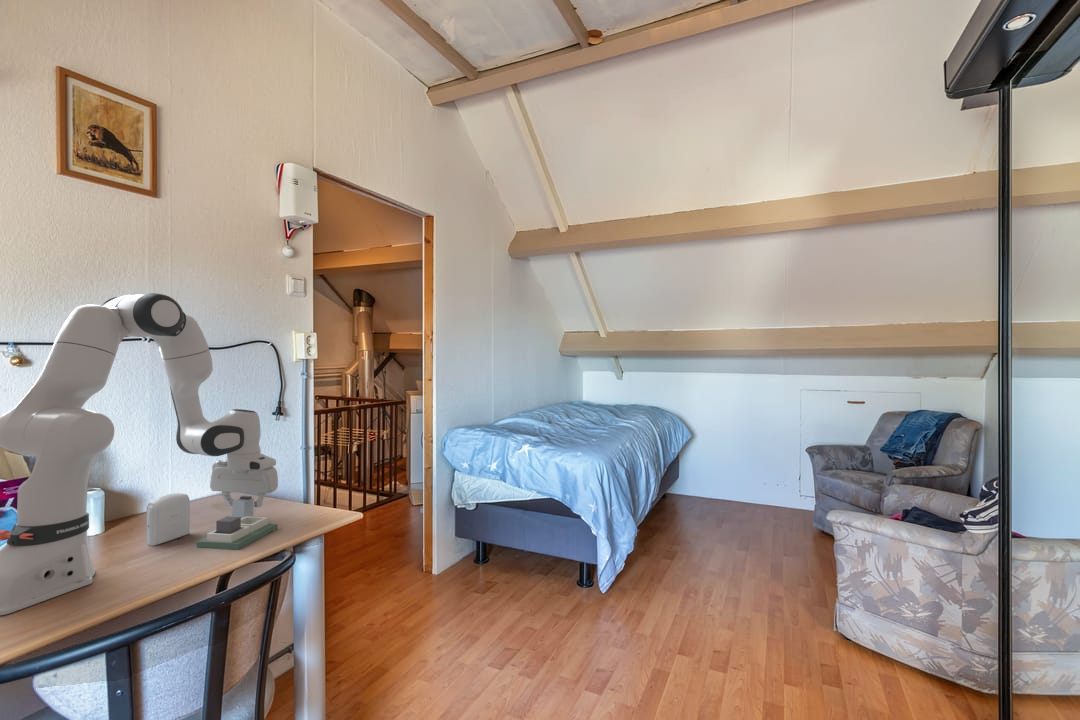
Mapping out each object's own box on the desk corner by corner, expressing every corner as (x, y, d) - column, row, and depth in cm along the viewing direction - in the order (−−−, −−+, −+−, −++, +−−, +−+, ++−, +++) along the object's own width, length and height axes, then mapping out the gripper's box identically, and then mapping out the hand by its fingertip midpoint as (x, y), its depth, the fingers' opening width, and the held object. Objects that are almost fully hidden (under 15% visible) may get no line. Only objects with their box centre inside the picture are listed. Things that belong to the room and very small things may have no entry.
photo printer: (154, 547, 130) (155, 500, 130) (143, 545, 132) (143, 498, 132) (192, 534, 140) (192, 491, 140) (181, 532, 142) (182, 489, 142)
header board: (238, 549, 129) (238, 524, 129) (196, 547, 131) (196, 522, 131) (277, 529, 145) (277, 507, 145) (239, 526, 147) (239, 505, 147)
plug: (244, 524, 149) (244, 499, 149) (232, 524, 149) (232, 499, 149) (253, 520, 153) (253, 496, 153) (241, 520, 153) (241, 495, 153)
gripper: (204, 462, 149) (204, 507, 149) (267, 464, 147) (267, 510, 147) (220, 458, 155) (220, 501, 156) (281, 460, 153) (280, 504, 153)
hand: (243, 506), depth 151 cm, fingers open, 8 cm apart
